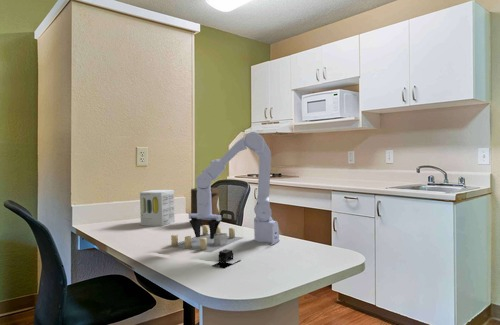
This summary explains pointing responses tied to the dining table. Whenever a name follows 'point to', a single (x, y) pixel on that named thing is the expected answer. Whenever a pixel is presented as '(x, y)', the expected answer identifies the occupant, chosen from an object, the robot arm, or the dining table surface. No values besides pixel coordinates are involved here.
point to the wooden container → (213, 200)
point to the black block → (224, 259)
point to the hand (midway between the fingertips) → (205, 237)
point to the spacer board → (209, 243)
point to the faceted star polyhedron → (220, 239)
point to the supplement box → (157, 207)
